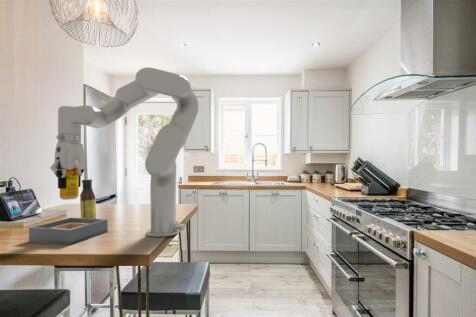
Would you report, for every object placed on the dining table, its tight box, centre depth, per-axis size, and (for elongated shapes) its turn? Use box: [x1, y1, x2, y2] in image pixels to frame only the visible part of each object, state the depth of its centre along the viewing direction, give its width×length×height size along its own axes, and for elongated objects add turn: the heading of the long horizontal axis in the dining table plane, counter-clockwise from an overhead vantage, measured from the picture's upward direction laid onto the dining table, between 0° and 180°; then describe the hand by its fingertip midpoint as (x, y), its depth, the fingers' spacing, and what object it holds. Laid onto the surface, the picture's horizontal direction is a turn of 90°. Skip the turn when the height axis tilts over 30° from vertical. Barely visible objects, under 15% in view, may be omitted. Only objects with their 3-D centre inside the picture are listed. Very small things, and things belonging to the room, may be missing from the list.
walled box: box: [28, 217, 109, 246], centre depth 107 cm, size 18×18×5 cm
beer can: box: [59, 160, 80, 201], centre depth 107 cm, size 6×6×15 cm
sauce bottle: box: [79, 178, 97, 219], centre depth 132 cm, size 7×6×20 cm
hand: (69, 187), depth 107 cm, fingers closed on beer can, 5 cm apart
